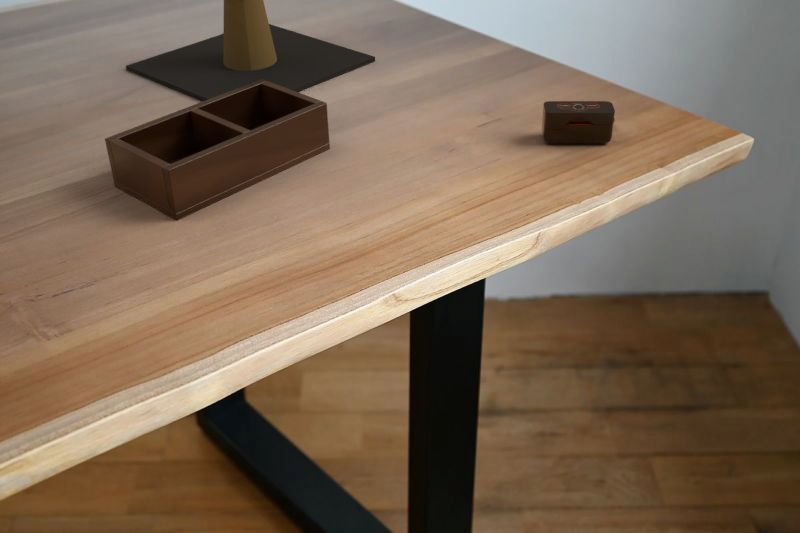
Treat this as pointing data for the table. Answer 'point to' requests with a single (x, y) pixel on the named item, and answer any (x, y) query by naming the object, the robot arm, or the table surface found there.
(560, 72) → the table surface
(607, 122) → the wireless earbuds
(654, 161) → the table surface
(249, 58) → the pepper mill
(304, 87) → the mat
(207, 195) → the organizer
